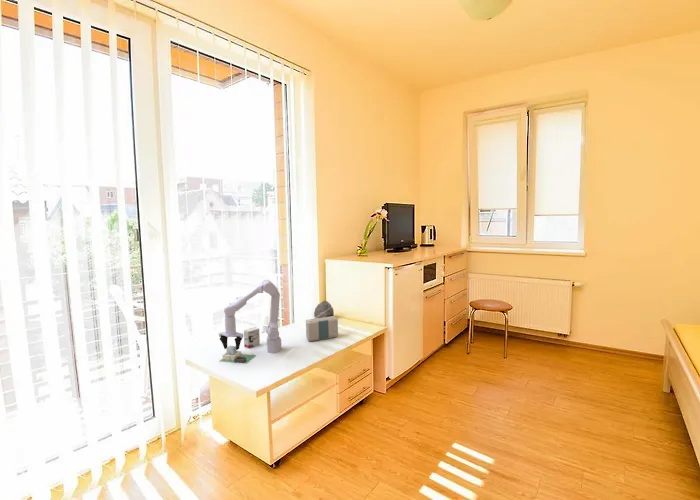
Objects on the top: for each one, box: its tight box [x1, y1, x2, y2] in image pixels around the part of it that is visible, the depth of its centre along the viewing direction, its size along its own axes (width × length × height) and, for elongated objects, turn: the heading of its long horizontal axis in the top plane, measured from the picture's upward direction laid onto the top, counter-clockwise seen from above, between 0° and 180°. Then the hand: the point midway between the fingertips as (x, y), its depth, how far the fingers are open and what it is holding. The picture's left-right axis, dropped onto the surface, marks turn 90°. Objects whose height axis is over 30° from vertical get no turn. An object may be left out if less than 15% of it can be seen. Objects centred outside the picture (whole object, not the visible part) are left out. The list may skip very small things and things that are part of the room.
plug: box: [225, 345, 238, 355], centre depth 209 cm, size 4×4×6 cm
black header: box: [233, 356, 246, 364], centre depth 203 cm, size 5×4×2 cm
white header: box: [221, 350, 242, 360], centre depth 209 cm, size 8×8×2 cm
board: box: [218, 353, 257, 364], centre depth 208 cm, size 12×17×1 cm
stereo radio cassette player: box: [305, 306, 339, 342], centre depth 241 cm, size 21×8×20 cm, turn 114°
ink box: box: [243, 326, 261, 349], centre depth 227 cm, size 9×5×12 cm, turn 137°
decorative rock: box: [313, 300, 335, 318], centre depth 285 cm, size 16×7×15 cm, turn 62°
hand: (231, 348), depth 209 cm, fingers open, 7 cm apart
